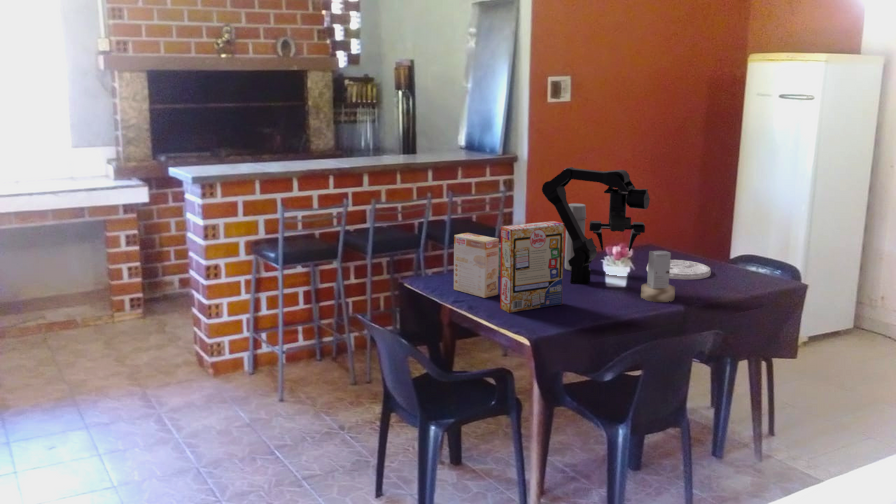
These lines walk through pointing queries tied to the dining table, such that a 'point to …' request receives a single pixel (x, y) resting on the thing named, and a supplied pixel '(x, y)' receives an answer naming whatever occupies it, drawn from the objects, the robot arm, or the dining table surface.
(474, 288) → the coffeecake box
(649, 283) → the skincare box
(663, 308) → the dining table surface
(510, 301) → the board game box
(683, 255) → the dining table surface
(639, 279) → the dining table surface
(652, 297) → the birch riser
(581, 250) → the robot arm
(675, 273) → the medallion
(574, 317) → the dining table surface
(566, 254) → the water bottle
